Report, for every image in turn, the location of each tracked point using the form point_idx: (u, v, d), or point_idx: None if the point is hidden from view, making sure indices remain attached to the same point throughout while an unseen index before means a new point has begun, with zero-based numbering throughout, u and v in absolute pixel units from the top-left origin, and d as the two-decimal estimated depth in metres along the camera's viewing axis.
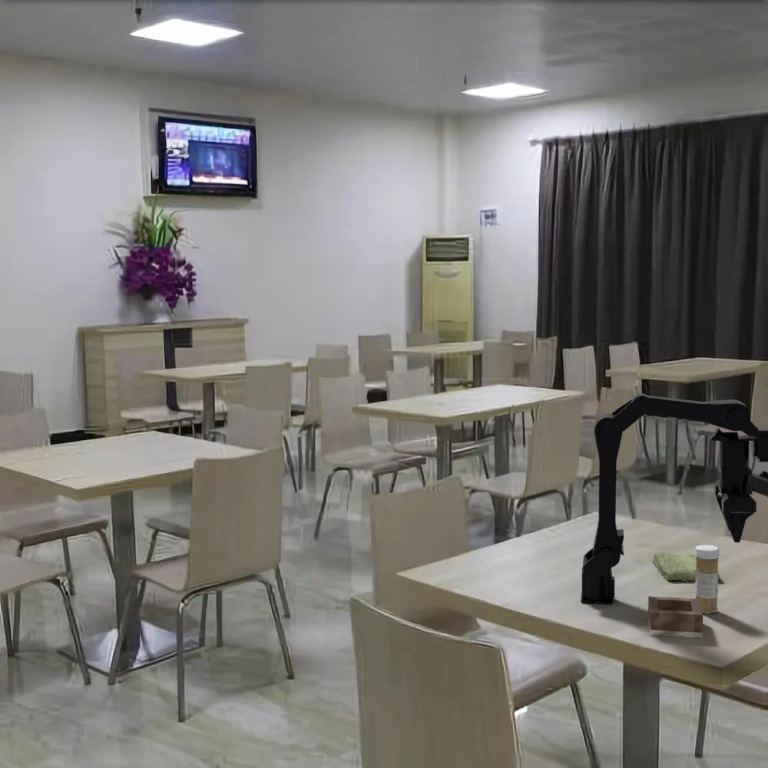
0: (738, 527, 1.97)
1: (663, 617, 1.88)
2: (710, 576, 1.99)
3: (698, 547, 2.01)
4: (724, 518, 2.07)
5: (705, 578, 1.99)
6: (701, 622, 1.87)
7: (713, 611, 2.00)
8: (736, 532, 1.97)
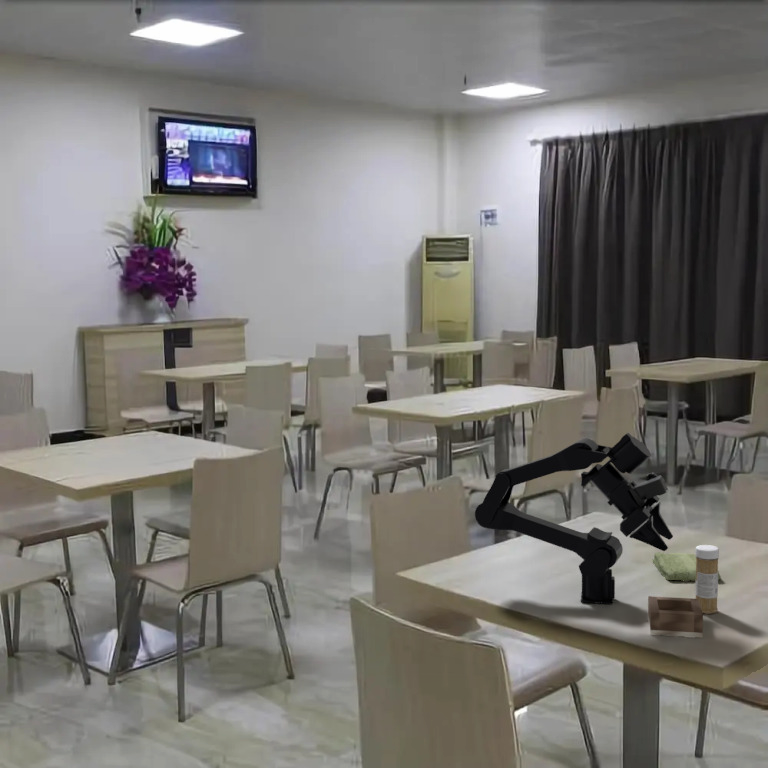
0: (654, 538, 1.99)
1: (663, 617, 1.88)
2: (710, 576, 1.99)
3: (698, 547, 2.01)
4: (657, 533, 2.09)
5: (705, 578, 1.99)
6: (701, 622, 1.87)
7: (713, 611, 2.00)
8: (657, 543, 1.99)
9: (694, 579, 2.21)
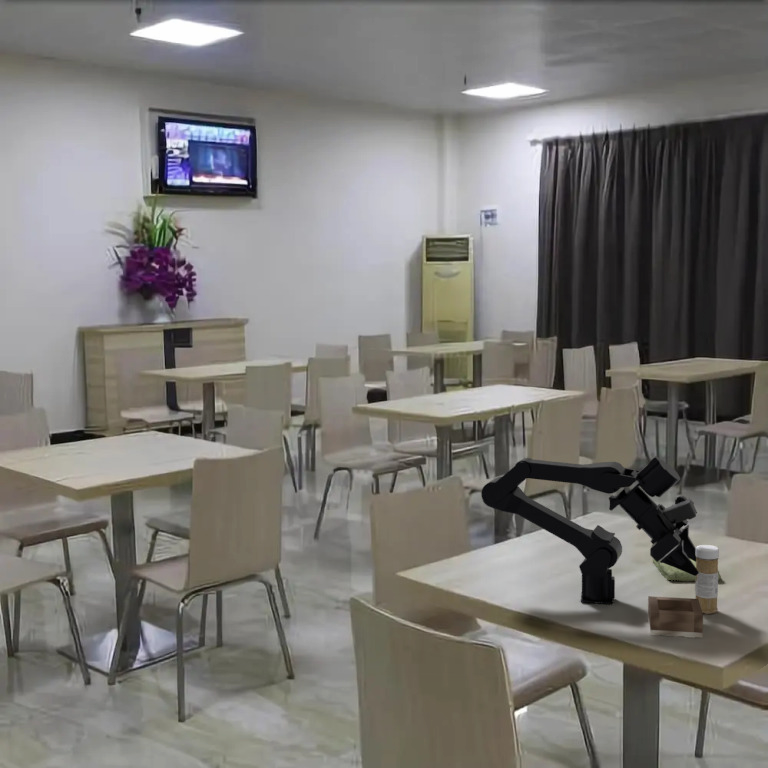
0: (685, 562, 1.97)
1: (663, 617, 1.88)
2: (710, 576, 1.99)
3: (698, 547, 2.01)
4: None
5: (705, 578, 1.99)
6: (701, 622, 1.87)
7: (713, 611, 2.00)
8: (687, 567, 1.97)
9: (695, 579, 2.21)
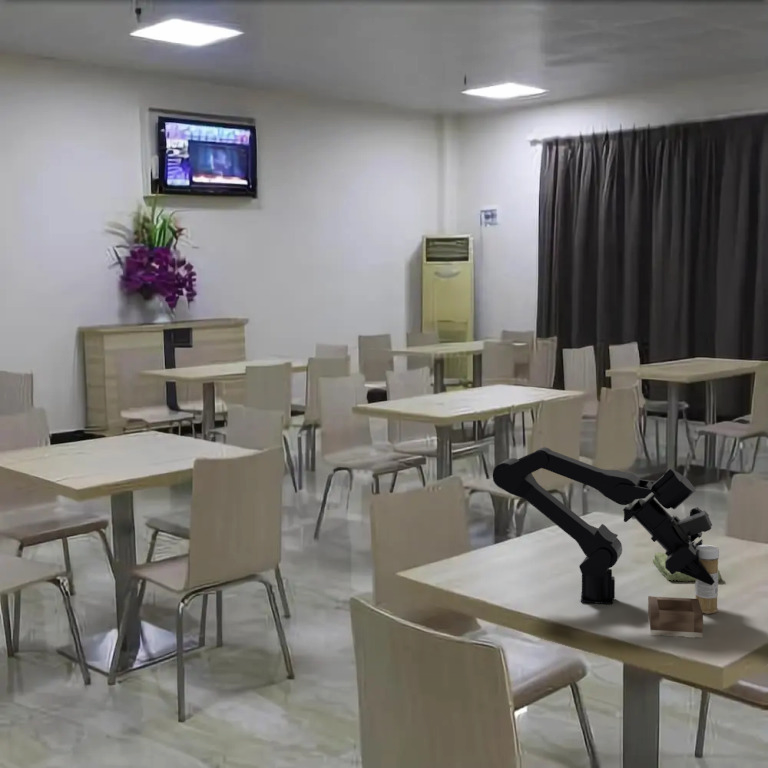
0: (701, 572, 1.98)
1: (663, 617, 1.88)
2: None
3: (698, 547, 2.01)
4: None
5: None
6: (701, 622, 1.87)
7: (713, 611, 2.00)
8: (703, 577, 1.98)
9: (695, 579, 2.21)
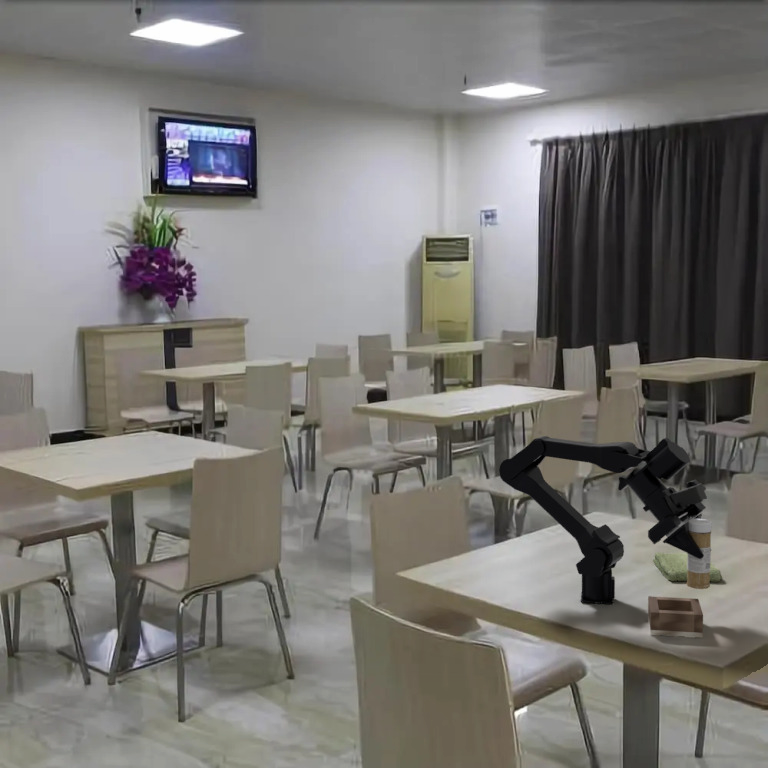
0: (689, 545, 1.94)
1: (663, 617, 1.88)
2: None
3: (690, 520, 1.96)
4: None
5: None
6: (701, 622, 1.87)
7: (703, 586, 1.95)
8: (692, 550, 1.94)
9: None
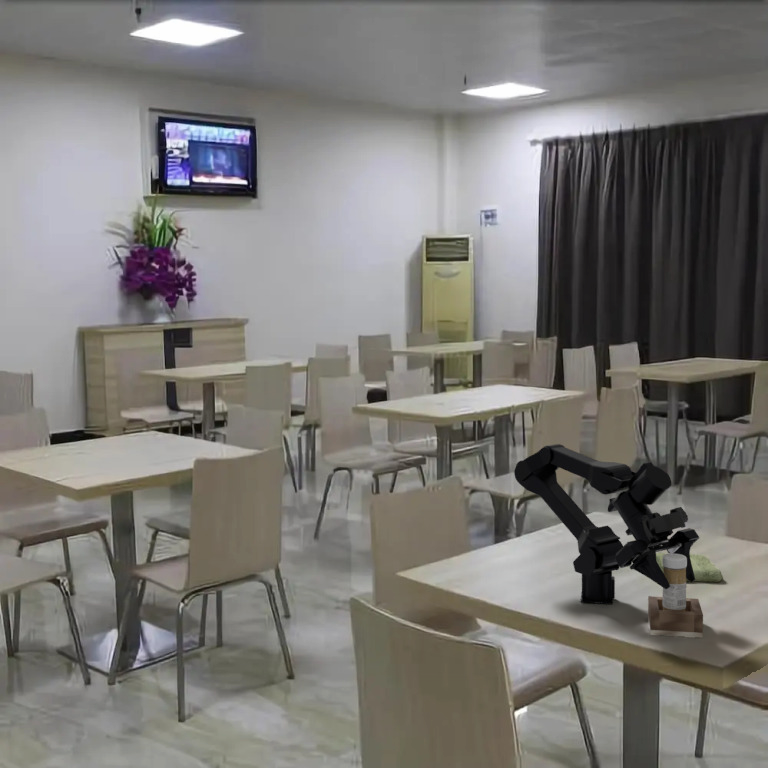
0: (655, 573, 1.90)
1: (663, 617, 1.88)
2: (670, 586, 1.90)
3: (666, 554, 1.92)
4: None
5: None
6: (701, 622, 1.87)
7: None
8: (658, 579, 1.90)
9: (697, 579, 2.21)
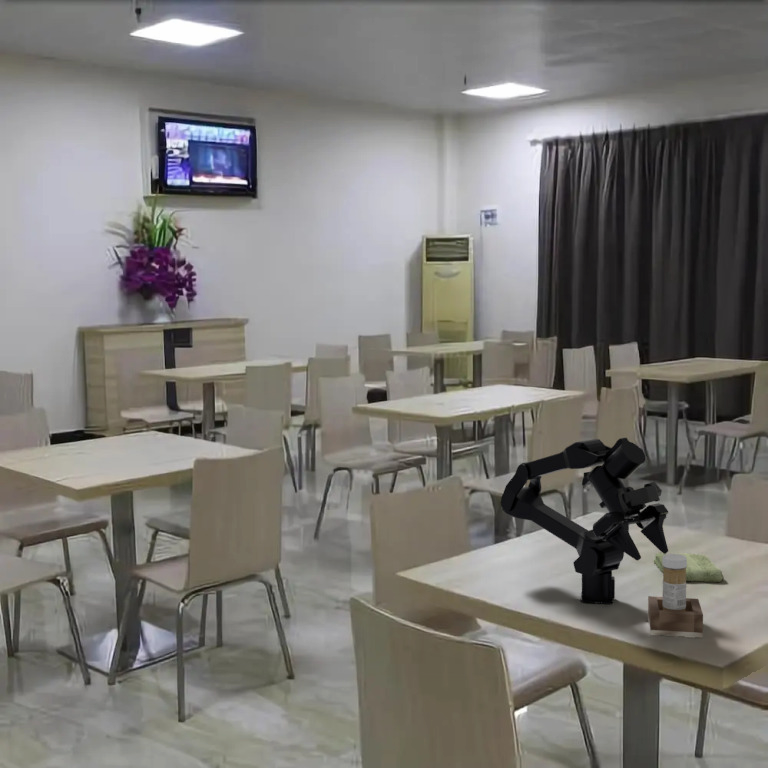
0: (627, 545, 1.95)
1: (663, 617, 1.88)
2: (670, 586, 1.90)
3: (666, 554, 1.92)
4: (655, 545, 2.03)
5: (666, 587, 1.91)
6: (701, 622, 1.87)
7: None
8: (629, 550, 1.95)
9: (697, 579, 2.21)
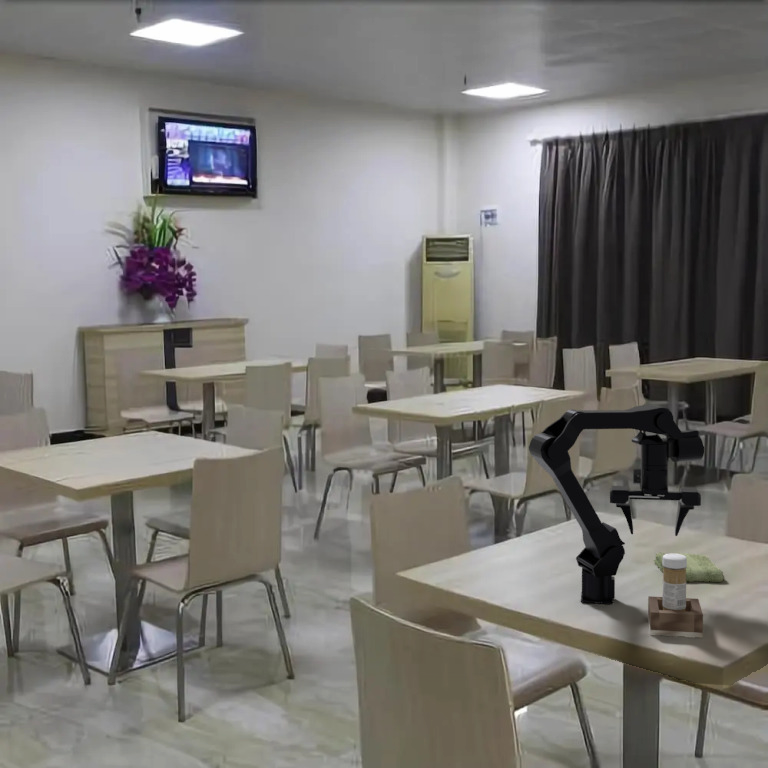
0: None
1: (663, 617, 1.88)
2: (670, 586, 1.90)
3: (666, 554, 1.92)
4: (632, 523, 2.12)
5: (666, 587, 1.91)
6: (701, 622, 1.87)
7: None
8: None
9: (698, 580, 2.21)
